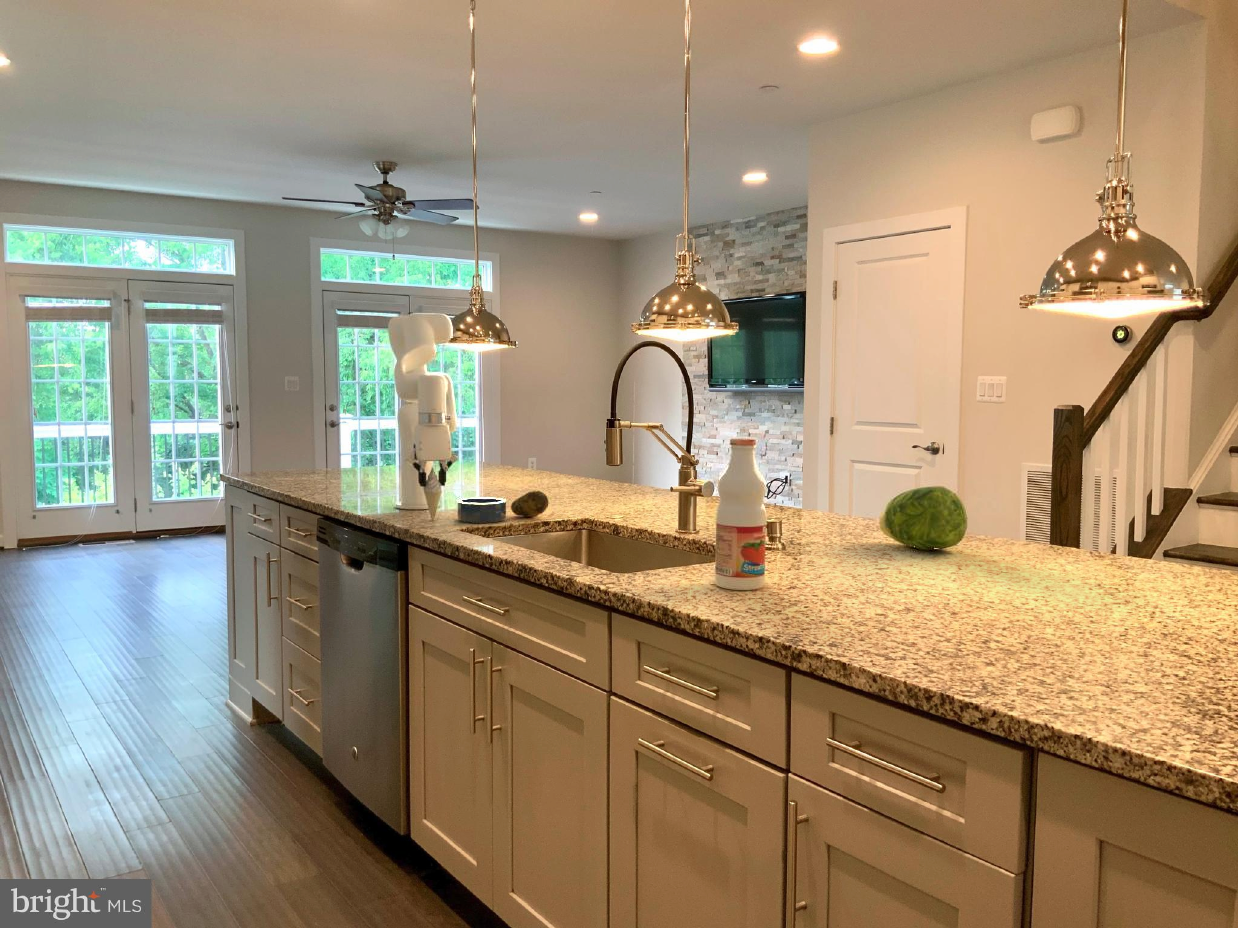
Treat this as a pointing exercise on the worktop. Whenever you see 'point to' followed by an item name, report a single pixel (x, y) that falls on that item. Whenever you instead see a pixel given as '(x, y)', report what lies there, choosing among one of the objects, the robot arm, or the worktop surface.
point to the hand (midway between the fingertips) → (432, 485)
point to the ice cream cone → (432, 493)
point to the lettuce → (925, 518)
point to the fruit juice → (741, 521)
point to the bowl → (481, 510)
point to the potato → (530, 504)
